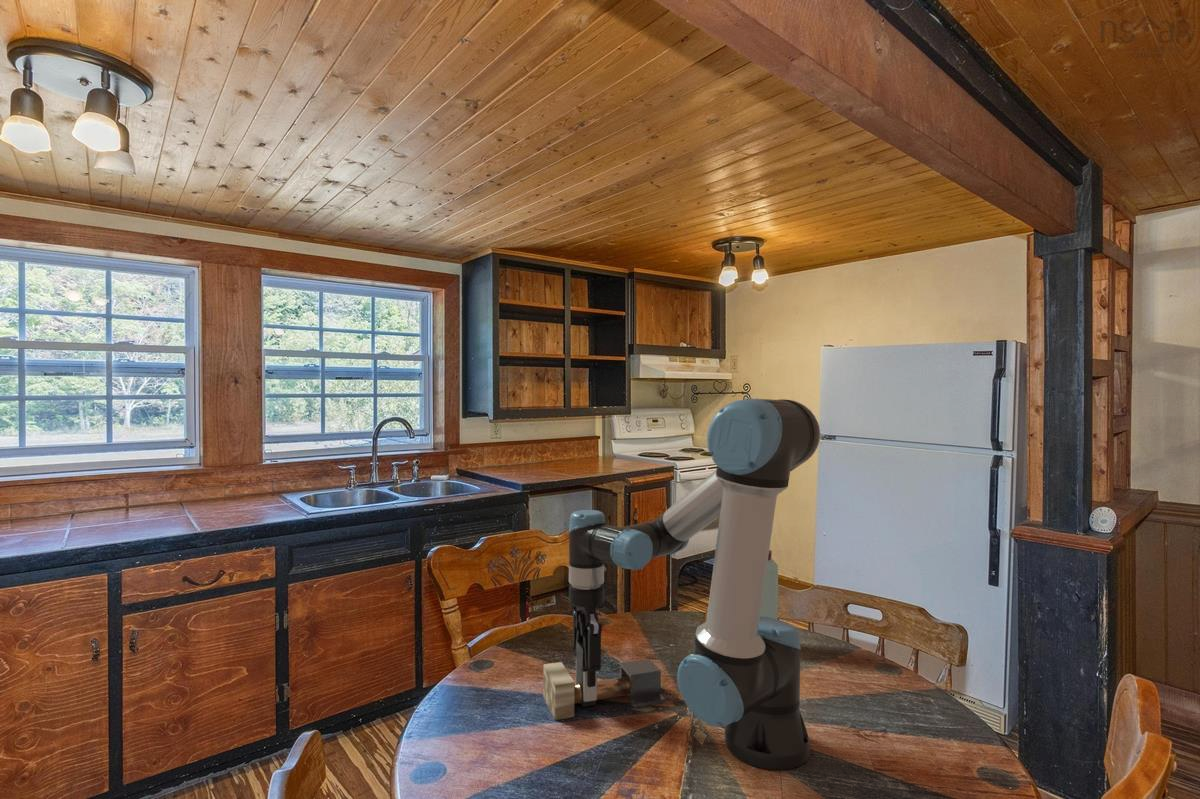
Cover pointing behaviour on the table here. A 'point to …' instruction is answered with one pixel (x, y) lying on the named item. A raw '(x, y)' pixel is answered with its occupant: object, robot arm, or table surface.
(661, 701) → the grey block
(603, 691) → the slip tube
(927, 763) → the table surface
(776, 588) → the water bottle
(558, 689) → the socket block
